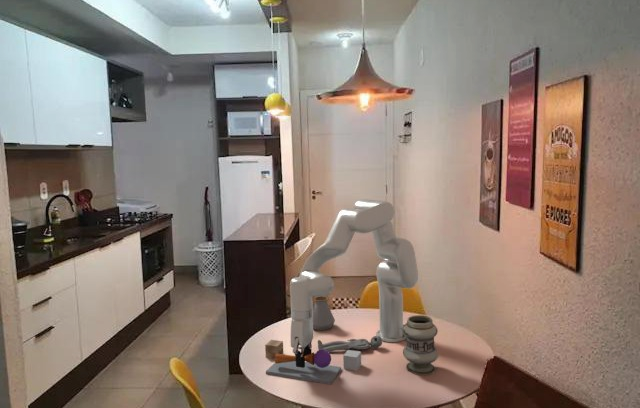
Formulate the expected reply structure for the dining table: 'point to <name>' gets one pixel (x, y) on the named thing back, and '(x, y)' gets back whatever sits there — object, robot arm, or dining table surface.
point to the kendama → (308, 358)
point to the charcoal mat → (305, 372)
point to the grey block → (352, 360)
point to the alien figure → (350, 344)
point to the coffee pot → (321, 314)
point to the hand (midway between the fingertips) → (303, 362)
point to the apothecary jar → (420, 344)
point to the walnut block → (273, 348)
